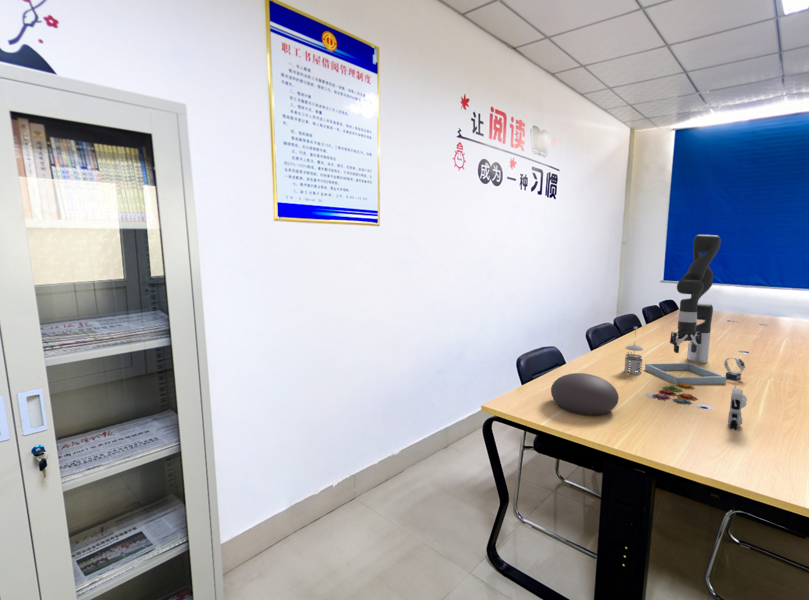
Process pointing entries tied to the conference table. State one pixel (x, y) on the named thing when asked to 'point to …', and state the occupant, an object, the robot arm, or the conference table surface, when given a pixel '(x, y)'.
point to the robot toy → (736, 408)
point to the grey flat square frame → (708, 379)
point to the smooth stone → (584, 394)
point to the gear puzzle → (672, 389)
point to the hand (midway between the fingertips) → (684, 352)
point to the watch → (732, 374)
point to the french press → (633, 359)
